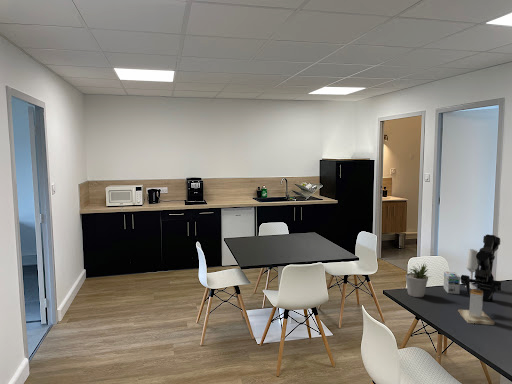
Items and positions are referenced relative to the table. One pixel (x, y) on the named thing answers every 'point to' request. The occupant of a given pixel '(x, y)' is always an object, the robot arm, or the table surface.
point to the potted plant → (417, 281)
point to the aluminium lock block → (476, 303)
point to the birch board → (482, 320)
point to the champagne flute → (472, 264)
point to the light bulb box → (451, 282)
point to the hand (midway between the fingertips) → (478, 296)
